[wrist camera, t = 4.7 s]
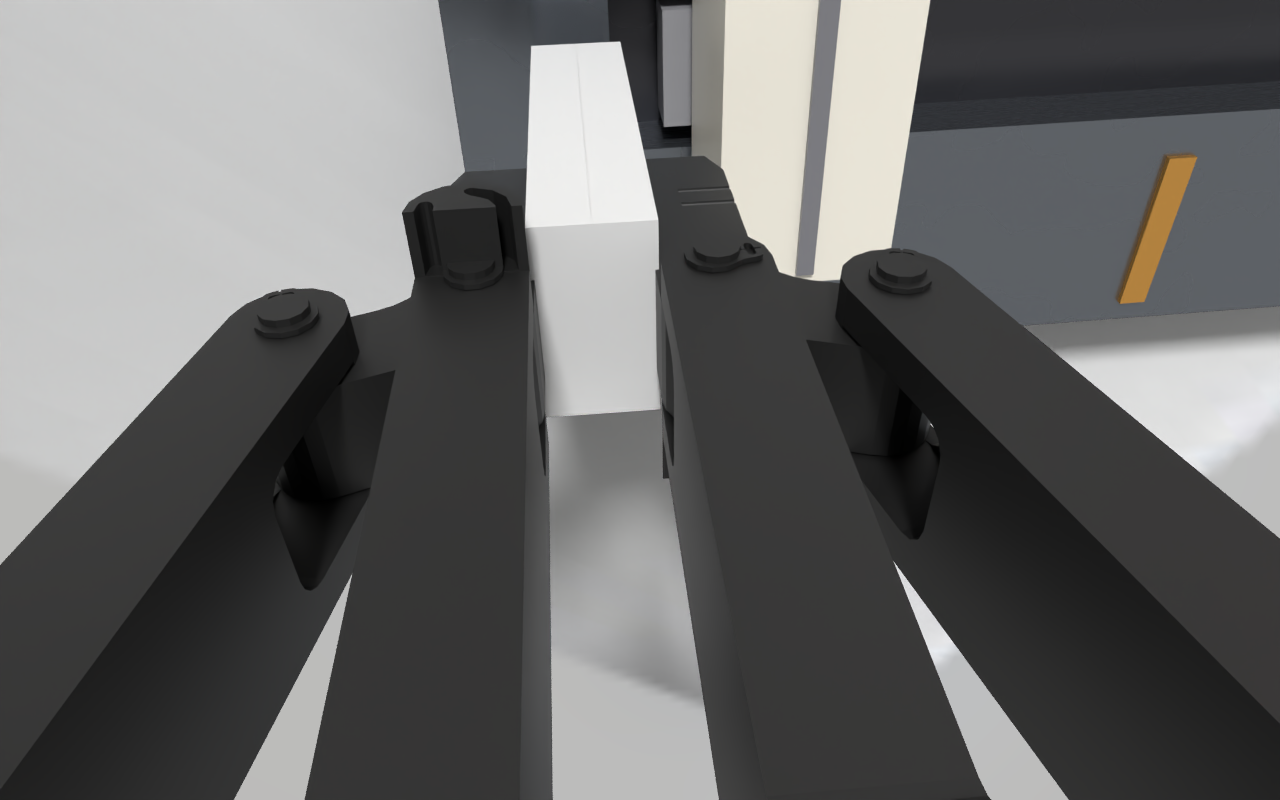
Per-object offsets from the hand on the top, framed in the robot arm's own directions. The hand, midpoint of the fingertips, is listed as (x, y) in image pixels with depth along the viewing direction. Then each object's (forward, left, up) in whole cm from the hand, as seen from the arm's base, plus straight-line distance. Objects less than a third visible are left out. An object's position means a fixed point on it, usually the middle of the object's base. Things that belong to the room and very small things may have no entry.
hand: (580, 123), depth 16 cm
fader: (+4, 0, -3) cm, 5 cm away
